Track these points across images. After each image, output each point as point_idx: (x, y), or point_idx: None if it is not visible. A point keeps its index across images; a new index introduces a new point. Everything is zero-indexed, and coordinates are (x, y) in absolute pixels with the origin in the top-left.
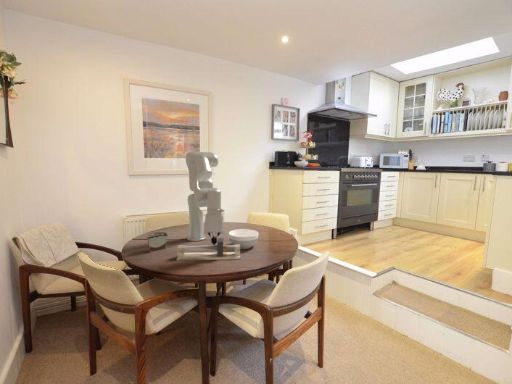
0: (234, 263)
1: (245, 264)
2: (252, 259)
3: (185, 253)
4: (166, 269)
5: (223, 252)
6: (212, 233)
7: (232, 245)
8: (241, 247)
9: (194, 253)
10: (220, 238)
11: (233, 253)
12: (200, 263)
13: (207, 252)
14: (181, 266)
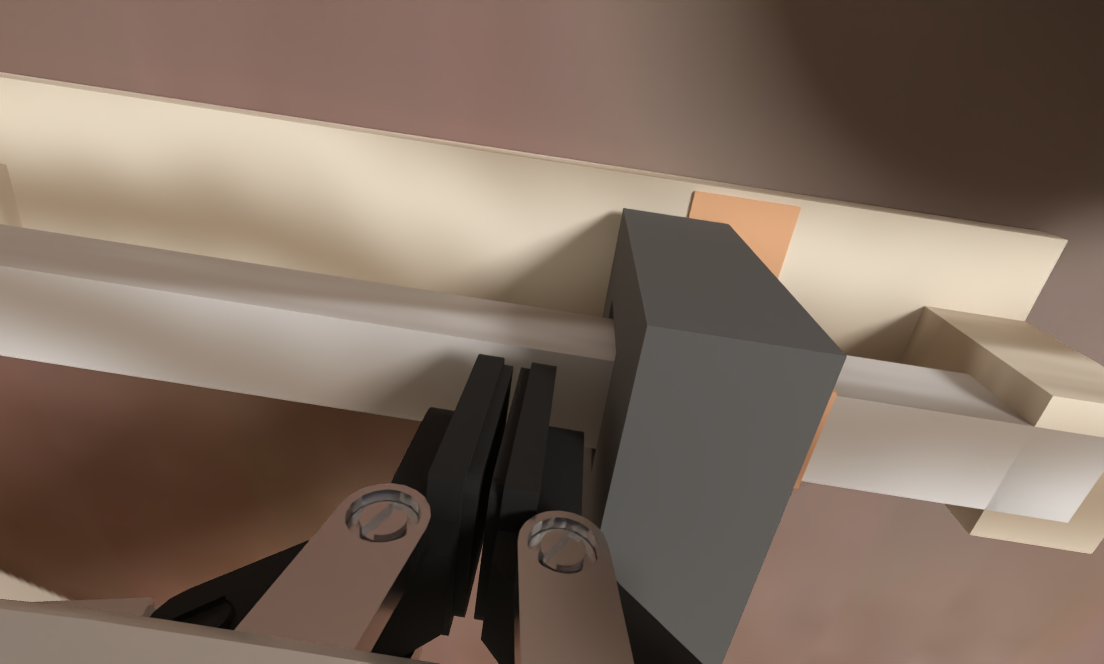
0: (780, 572)
1: (901, 623)
2: None
3: (2, 117)
4: (18, 544)
5: (729, 224)
6: (365, 631)
7: (962, 451)
8: None
9: (173, 154)
10: (727, 382)
11: (902, 307)
12: (354, 484)
13: (415, 145)
14: (148, 512)
